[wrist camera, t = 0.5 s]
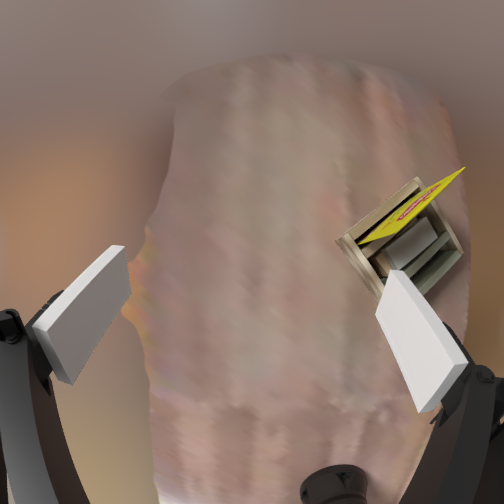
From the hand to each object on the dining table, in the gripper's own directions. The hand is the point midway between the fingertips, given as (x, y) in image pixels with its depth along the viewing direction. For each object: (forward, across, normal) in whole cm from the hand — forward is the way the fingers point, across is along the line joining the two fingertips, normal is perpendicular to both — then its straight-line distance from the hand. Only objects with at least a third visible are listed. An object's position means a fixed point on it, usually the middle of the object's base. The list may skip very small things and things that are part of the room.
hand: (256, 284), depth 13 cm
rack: (+32, -26, +10) cm, 42 cm away
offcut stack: (+32, -26, +10) cm, 42 cm away
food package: (+35, -22, +6) cm, 42 cm away
